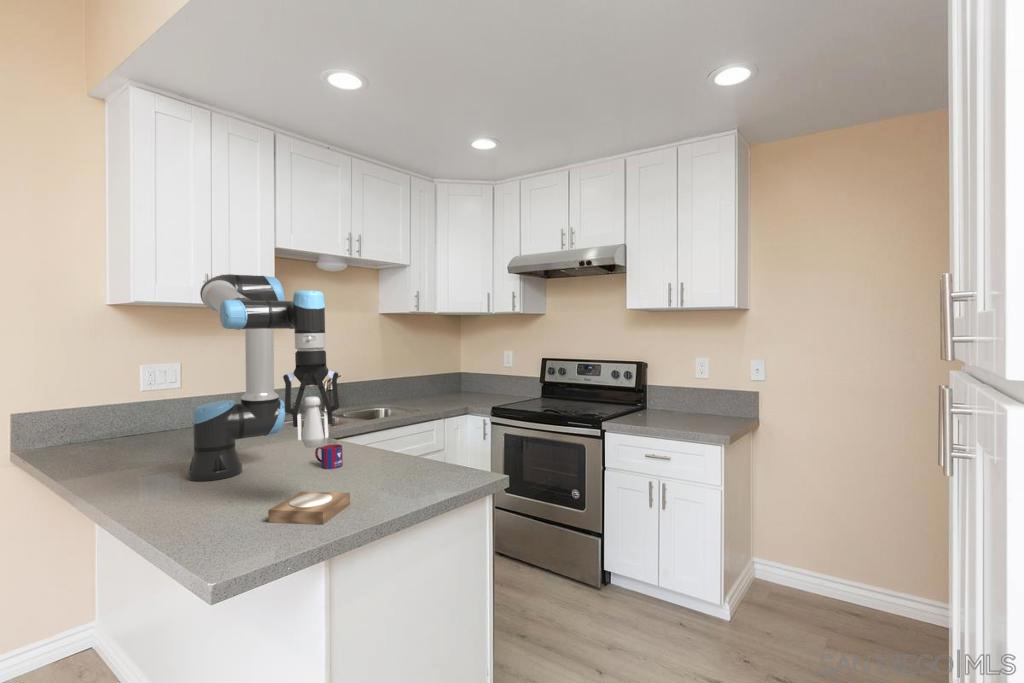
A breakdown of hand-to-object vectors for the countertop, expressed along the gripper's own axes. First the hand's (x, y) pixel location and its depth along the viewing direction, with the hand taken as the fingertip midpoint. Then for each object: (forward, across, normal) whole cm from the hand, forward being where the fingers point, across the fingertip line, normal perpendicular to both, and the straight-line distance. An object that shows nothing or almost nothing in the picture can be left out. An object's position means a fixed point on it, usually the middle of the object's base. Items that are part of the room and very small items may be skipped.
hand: (313, 437), depth 134 cm
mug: (+17, +2, +41) cm, 44 cm away
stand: (+18, -1, -6) cm, 19 cm away
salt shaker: (+2, 0, 0) cm, 2 cm away
